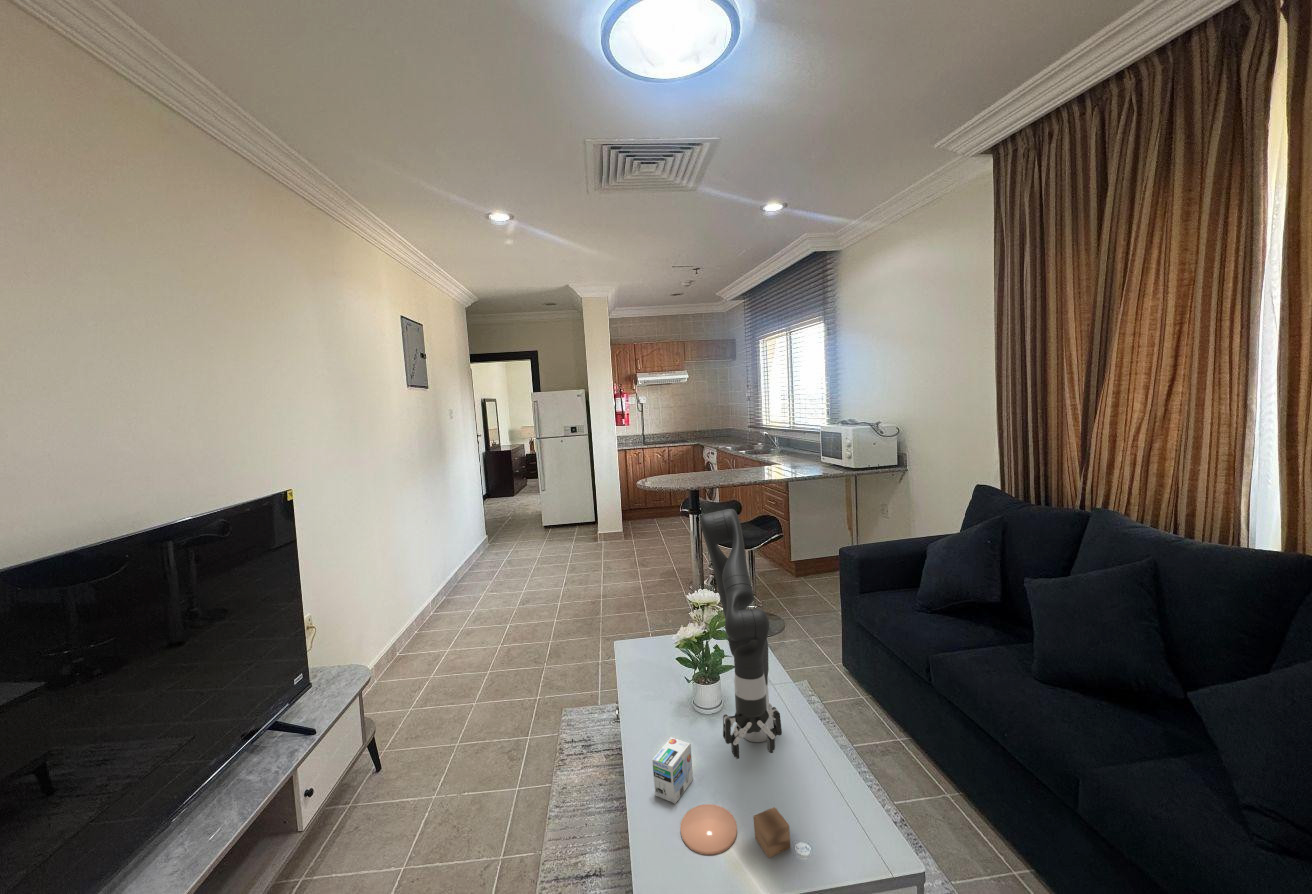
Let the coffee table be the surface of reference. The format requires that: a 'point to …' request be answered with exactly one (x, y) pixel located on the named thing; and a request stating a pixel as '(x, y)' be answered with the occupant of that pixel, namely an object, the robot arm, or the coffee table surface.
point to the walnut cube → (772, 832)
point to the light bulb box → (672, 769)
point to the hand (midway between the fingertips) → (753, 754)
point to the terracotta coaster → (708, 829)
